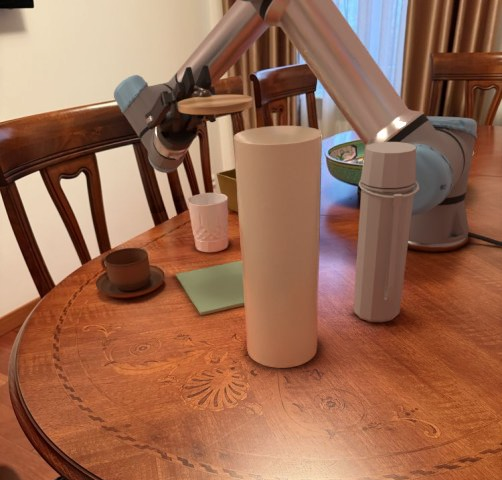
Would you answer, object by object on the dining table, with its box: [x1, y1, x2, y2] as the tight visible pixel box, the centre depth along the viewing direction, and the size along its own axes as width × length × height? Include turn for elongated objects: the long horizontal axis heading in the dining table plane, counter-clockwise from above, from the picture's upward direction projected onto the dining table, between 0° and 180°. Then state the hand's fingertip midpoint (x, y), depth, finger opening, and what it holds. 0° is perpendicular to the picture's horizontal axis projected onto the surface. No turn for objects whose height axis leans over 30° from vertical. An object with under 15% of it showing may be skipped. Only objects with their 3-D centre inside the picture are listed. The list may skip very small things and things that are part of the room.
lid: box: [178, 86, 254, 115], centre depth 80 cm, size 22×11×2 cm, turn 22°
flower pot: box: [216, 167, 238, 213], centre depth 123 cm, size 9×9×9 cm
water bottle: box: [353, 142, 419, 323], centre depth 73 cm, size 9×8×25 cm
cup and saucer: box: [95, 247, 165, 299], centre depth 91 cm, size 12×12×6 cm
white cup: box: [187, 192, 229, 253], centre depth 105 cm, size 8×8×10 cm
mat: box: [174, 260, 244, 316], centre depth 92 cm, size 16×16×1 cm
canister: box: [233, 125, 323, 369], centre depth 66 cm, size 10×10×29 cm
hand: (199, 75), depth 80 cm, fingers closed on lid, 2 cm apart
